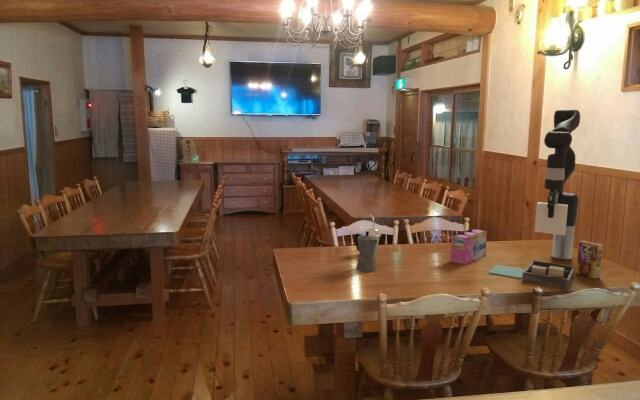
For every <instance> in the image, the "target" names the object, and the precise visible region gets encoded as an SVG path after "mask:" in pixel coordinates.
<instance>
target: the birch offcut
mask: <svg viewBox="0 0 640 400" xmlns="http://www.w3.org/2000/svg"><path fill="white" fill-rule="evenodd" d="M548 276H552V277H558V278H564V268H563V267H556V266H550V267H549V272H548Z"/></svg>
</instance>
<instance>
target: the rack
mask: <svg viewBox="0 0 640 400" xmlns="http://www.w3.org/2000/svg"><path fill="white" fill-rule="evenodd" d="M533 265H535V266H542V267H547V274H546V275H541V274H535V273H531V269H532V266H533ZM550 266H556V267H563V268H564V278H558V277H552V276H548V272H549V267H550ZM574 276H575V268H573V266H572V265H568V264H562V263H561V264H560V263H554V262H549V261H541V260H535V259H533V261H531V262H530V263H529V264H528V266H527V267H526V268H525V270H524V272H523V277H522V279H521V280H522V282H525V283H532V284H537V285H538V284H539V285H543V286H548V287H554V288H560V289H565V290H569V288H570V286H571V285H572V282H573V279H574Z"/></svg>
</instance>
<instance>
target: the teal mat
mask: <svg viewBox="0 0 640 400" xmlns="http://www.w3.org/2000/svg"><path fill="white" fill-rule="evenodd" d="M525 269H526V268H525ZM525 269H524V268H519V267H513V266H506V265H502V264H496V265H494V266H493V267H492V268H491V269H490V270H489V271H488V274H489V275H490V274H491V275H497V276H501V277H505V278H506V277H507V278H513V279H519V280H523V272H524V270H525Z"/></svg>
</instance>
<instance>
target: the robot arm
mask: <svg viewBox="0 0 640 400" xmlns="http://www.w3.org/2000/svg"><path fill="white" fill-rule="evenodd" d="M580 123H581V112H580V111H579V110H578V109H577V108H568V109H566V108H565V109H557V110H555V111H554V116H553V129H551V130H549V131H548V132H547V133H546V134H545V136H544V140H543V141H544V146H546V147H547V148H549V149H554V153H550V154H548V156H547V161H546V162H547V163H546V168H545V169H546V170H545V175H544V189H545V190H549V192H548V193H547V200H546V201H547V202H546V203H548V206H547V208H548V218H553V216H554V209H555V208H554V207H555V204H565V205H568V210H567V221H566V231H565V235H557V234H553V238H552V239H553V240H552V249H551V257H552V258H554V259H558V260H571V259H572V256H573V247H574V238H575V237H574V236H575V228H576V220H577V214H578V207H579V196H578V195H577V194H576V193H569V192H564V186H565V183H566V182H567V181H568V179H569V178H570V176H571V175H572V174H573V173H574V171H575V168H576V153H575V151H574V150H573V148H572V147H571V145H572V141H573V137H572V133H573V131H575V130H576V129H577V128H578V127H579V126H580ZM550 204H552V205H553V206H550Z"/></svg>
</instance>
